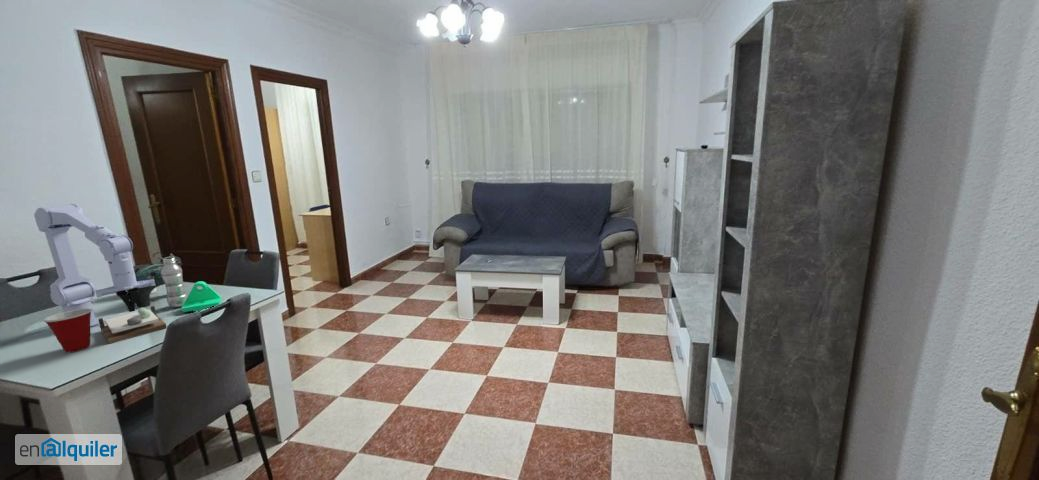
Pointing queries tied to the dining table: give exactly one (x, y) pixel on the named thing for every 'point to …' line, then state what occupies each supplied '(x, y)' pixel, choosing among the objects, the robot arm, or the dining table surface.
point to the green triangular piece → (201, 298)
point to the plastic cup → (71, 328)
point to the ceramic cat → (147, 274)
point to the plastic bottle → (173, 282)
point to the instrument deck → (124, 326)
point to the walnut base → (131, 330)
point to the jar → (141, 268)
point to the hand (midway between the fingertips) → (131, 310)
